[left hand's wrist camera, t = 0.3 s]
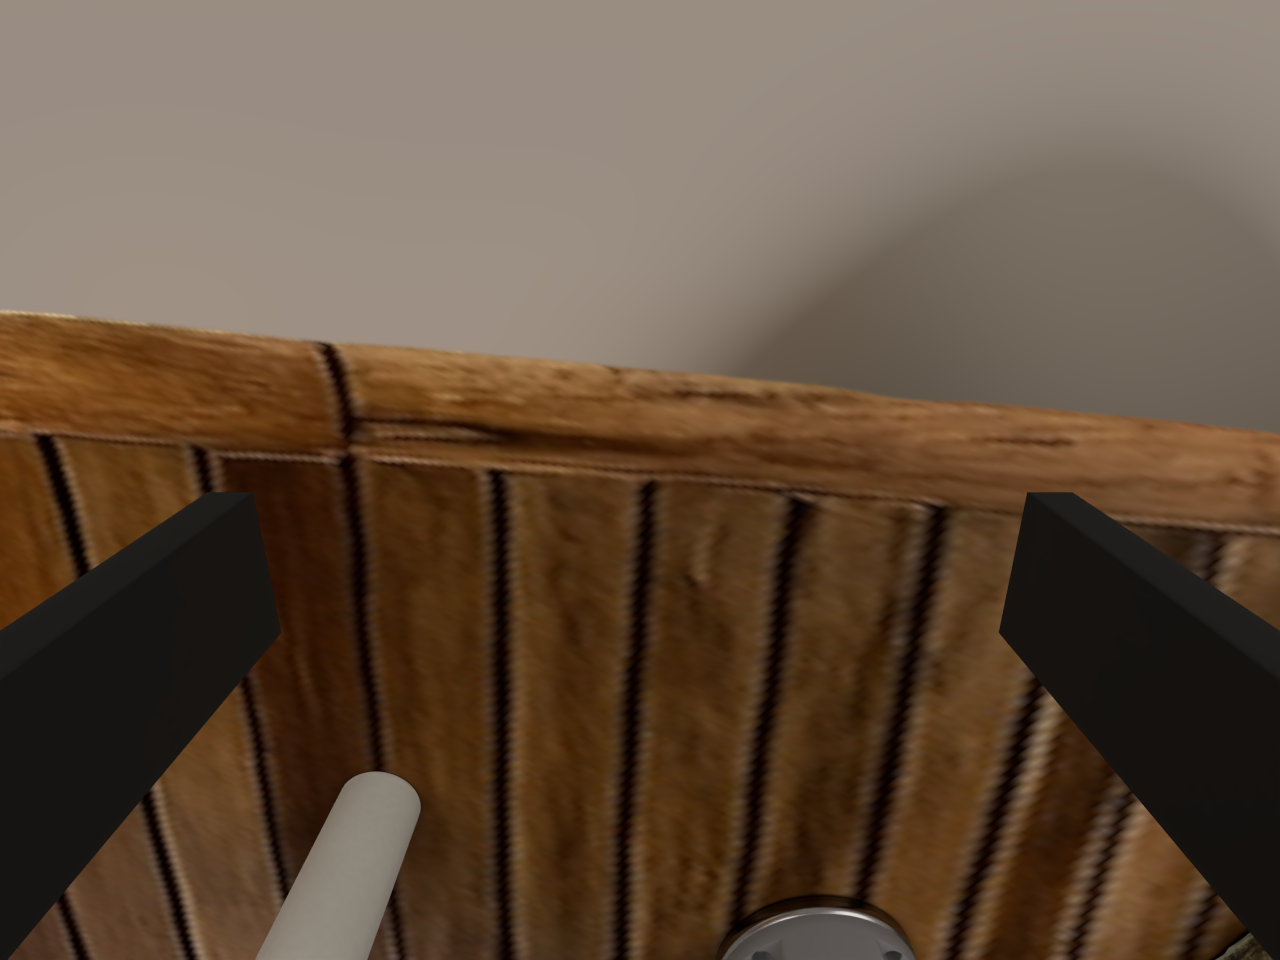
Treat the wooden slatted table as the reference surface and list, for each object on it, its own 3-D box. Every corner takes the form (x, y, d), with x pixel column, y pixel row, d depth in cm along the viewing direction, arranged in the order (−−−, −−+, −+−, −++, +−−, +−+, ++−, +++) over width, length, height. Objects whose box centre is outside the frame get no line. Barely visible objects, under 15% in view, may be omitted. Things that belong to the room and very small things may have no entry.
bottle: (388, 845, 52) (253, 1191, 34) (324, 803, 51) (147, 1139, 32) (437, 802, 50) (323, 1138, 32) (372, 757, 49) (215, 1081, 31)
